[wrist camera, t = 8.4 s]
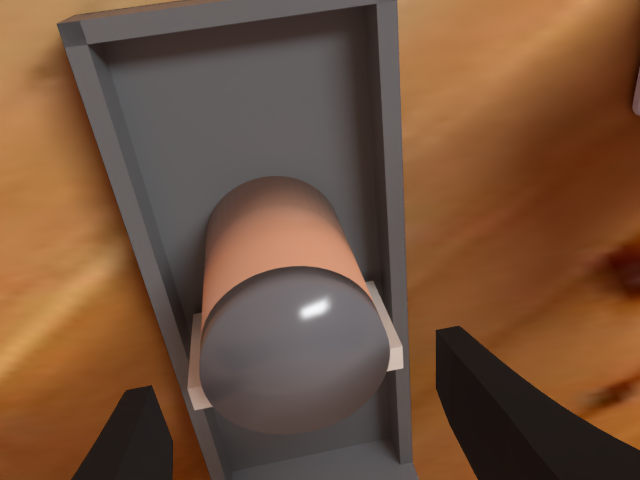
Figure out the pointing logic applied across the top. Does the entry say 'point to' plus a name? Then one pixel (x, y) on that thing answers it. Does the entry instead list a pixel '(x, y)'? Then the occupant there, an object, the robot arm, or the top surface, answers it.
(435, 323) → the top surface
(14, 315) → the top surface
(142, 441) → the robot arm
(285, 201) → the jar
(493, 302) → the top surface
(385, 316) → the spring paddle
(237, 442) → the tray
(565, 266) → the top surface
